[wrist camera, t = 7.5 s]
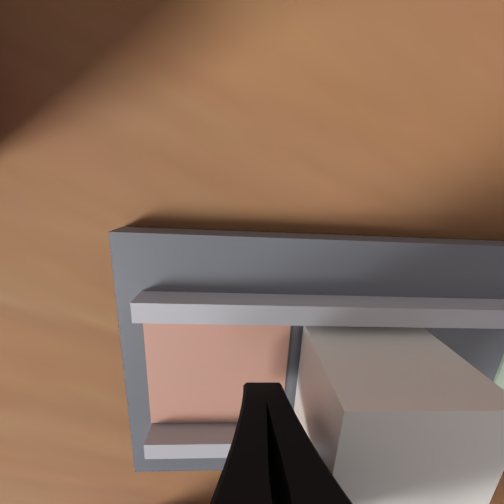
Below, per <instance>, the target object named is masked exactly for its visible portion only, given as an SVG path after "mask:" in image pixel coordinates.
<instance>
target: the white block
mask: <svg viewBox="0 0 504 504" xmlns="http://www.w3.org/2000/svg"><path fill="white" fill-rule="evenodd" d="M294 412H295V414H296V416H297V417H298V419H299V421H300V423H301V425H302V426H303V428H304V430H305V432H306V433H307V435H308V437H309V438H310V440H311V442H312V444H313V445H314V447H315V448H316V450H317V452H318V453H319V455H320V457H321V458H322V460H323V461H324V463H325V464H326V466H327V467H328V469H329V470H330V472H331V473H332V475H333V476H334V478H335V479H336V481H337V482H338V484H339V485H340V487H341V488H342V490H343V491H344V492H345V494H346V495H347V497H348V498H349V499H350V501H351V502H352V504H489V503H490V501H491V498H492V496H493V494H494V491H495V489H496V487H497V485H498V482H499V480H500V478H501V476H502V473H503V471H504V390H503V389H502V388H501V387H499V386H498V385H497V384H495V383H494V382H493V381H492V380H490V379H489V378H488V377H486V376H485V375H484V374H482V373H481V372H480V371H479V370H477V369H476V368H475V367H473V366H472V365H471V364H470V363H468V362H467V361H466V360H464V359H463V358H462V357H461V356H459V355H458V354H457V353H455V352H454V351H453V350H451V349H450V348H449V347H448V346H446V345H445V344H444V343H442V342H441V341H440V340H439V339H437V338H436V337H435V336H433V335H432V334H431V333H430V332H428V331H427V330H426V329H424V328H413V327H348V326H303V335H302V344H301V352H300V361H299V369H298V378H297V386H296V395H295V404H294Z"/></svg>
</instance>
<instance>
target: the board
mask: <svg viewBox="0 0 504 504" xmlns="http://www.w3.org/2000/svg"><path fill="white" fill-rule="evenodd" d="M109 241H110V250H111V259H112V268H113V277H114V286H115V295H116V304H117V313H118V322H119V331H120V340H121V349H122V358H123V367H124V376H125V385H126V394H127V403H128V412H129V421H130V430H131V439H132V449H133V458H134V467H135V472H151V471H202V470H223V467H224V464H225V461H226V459H227V456H228V453H229V450H230V447H231V443H232V440H233V437H234V433H235V429H236V426H237V422H238V418H239V414H240V409H241V404H242V398H243V385H244V384H245V383H247V382H279V383H280V384H281V385H282V387H283V389H284V391H285V394H286V396H287V398H288V400H289V402H290V404H291V406H292V408H293V410H294V404H295V395H296V386H297V378H298V369H299V361H300V352H301V344H302V335H303V326H348V327H413V328H424V329H426V330H427V331H428V332H430V333H431V334H432V335H433V336H435V337H436V338H437V339H439V340H440V341H441V342H442V343H444V344H445V345H446V346H448V347H449V348H450V349H451V350H453V351H454V352H455V353H457V354H458V355H459V356H461V357H462V358H463V359H464V360H466V361H467V362H468V363H470V364H471V365H472V366H473V367H475V368H476V369H477V370H479V371H480V372H481V373H482V374H484V375H485V376H486V377H488V378H489V379H490V380H492V381H493V382H494V383H495V384H497V385H498V386H499V387H501V388H502V389H503V390H504V241H495V240H469V239H443V238H416V237H390V236H363V235H337V234H310V233H284V232H257V231H231V230H204V229H178V228H151V227H125V226H124V227H121V228H118V229H115V230H112V231H109Z"/></svg>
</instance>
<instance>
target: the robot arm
mask: <svg viewBox="0 0 504 504" xmlns="http://www.w3.org/2000/svg"><path fill="white" fill-rule="evenodd" d="M210 504H352V502H351V501H350V499H349V498H348V497H347V495H346V494H345V492H344V491H343V490H342V488H341V487H340V485H339V484H338V482H337V481H336V479H335V478H334V476H333V475H332V473H331V472H330V470H329V469H328V467H327V466H326V464H325V463H324V461H323V460H322V458H321V457H320V455H319V453H318V452H317V450H316V448H315V447H314V445H313V444H312V442H311V440H310V438H309V437H308V435H307V433H306V432H305V430H304V428H303V426H302V425H301V423H300V421H299V419H298V417H297V416H296V414H295V412H294V410H293V408H292V406H291V404H290V402H289V400H288V398H287V396H286V394H285V391H284V389H283V387H282V385H281V384H280V383H279V382H247V383H245V384H244V385H243V398H242V404H241V409H240V414H239V418H238V422H237V426H236V429H235V433H234V437H233V440H232V443H231V447H230V450H229V453H228V456H227V459H226V461H225V464H224V467H223V470H222V473H221V476H220V479H219V481H218V484H217V487H216V489H215V492H214V495H213V497H212V500H211V502H210Z"/></svg>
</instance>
